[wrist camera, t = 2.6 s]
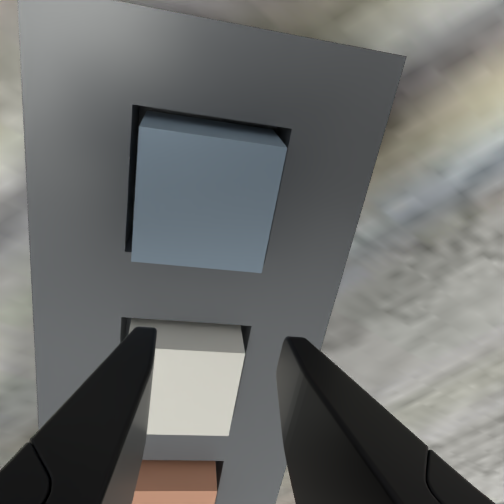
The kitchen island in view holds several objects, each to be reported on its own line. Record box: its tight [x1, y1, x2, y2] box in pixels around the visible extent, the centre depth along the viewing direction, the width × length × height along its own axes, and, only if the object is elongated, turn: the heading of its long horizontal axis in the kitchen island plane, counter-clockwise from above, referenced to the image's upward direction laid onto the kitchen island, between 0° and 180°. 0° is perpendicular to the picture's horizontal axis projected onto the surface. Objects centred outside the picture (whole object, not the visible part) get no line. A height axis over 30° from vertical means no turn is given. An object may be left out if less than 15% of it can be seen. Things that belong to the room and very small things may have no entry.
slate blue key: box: [131, 111, 287, 273], centre depth 17 cm, size 5×5×3 cm
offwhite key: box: [129, 318, 245, 436], centre depth 21 cm, size 5×5×3 cm
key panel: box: [17, 0, 407, 504], centre depth 23 cm, size 30×13×4 cm, turn 170°
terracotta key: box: [132, 460, 217, 504], centre depth 25 cm, size 5×5×3 cm
